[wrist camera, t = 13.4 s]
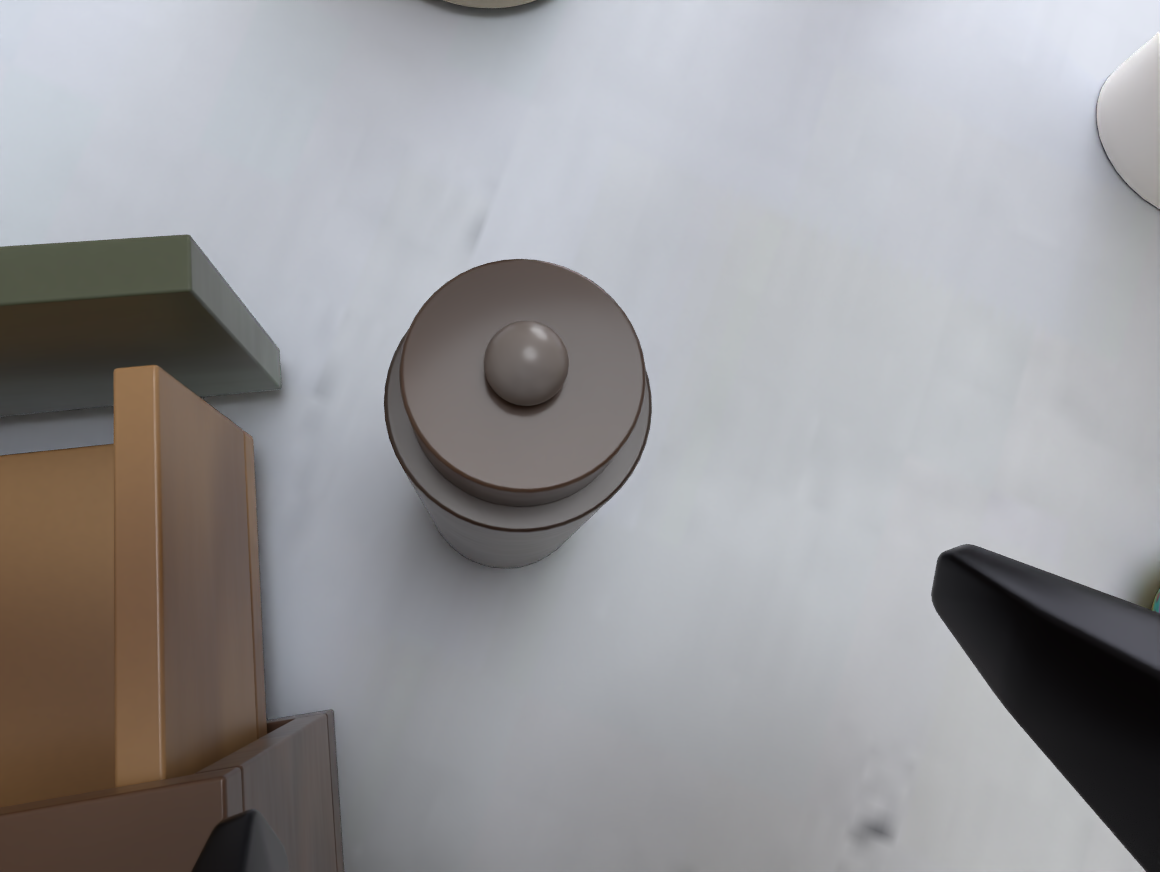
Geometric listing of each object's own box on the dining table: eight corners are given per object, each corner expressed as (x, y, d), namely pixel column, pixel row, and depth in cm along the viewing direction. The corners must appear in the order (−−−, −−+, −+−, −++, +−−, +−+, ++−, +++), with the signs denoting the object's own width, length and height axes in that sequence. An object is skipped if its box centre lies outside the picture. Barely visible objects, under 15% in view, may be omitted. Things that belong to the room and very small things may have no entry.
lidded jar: (567, 582, 20) (662, 543, 9) (411, 551, 20) (317, 472, 9) (595, 433, 22) (710, 240, 10) (448, 401, 21) (406, 168, 10)
